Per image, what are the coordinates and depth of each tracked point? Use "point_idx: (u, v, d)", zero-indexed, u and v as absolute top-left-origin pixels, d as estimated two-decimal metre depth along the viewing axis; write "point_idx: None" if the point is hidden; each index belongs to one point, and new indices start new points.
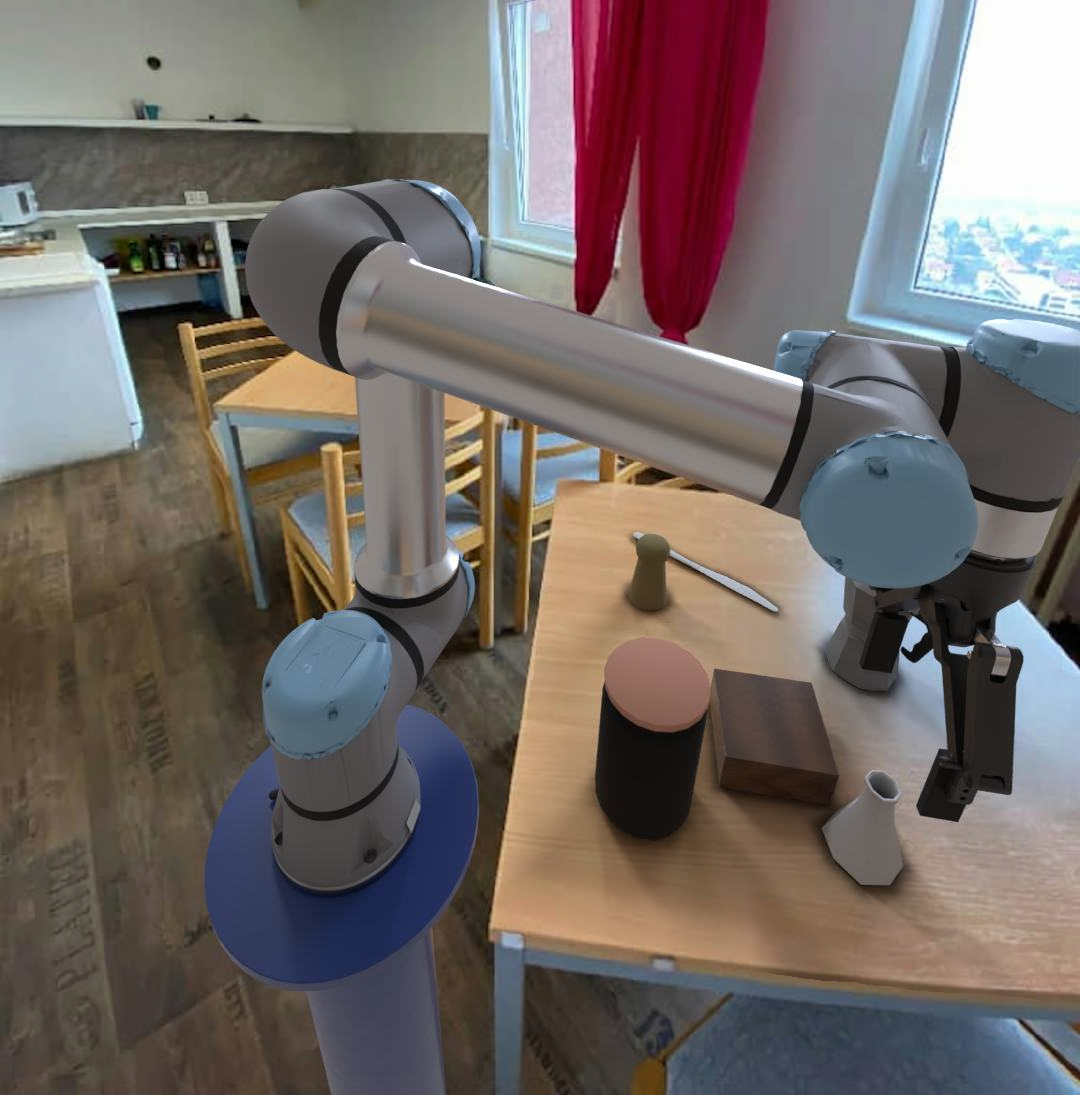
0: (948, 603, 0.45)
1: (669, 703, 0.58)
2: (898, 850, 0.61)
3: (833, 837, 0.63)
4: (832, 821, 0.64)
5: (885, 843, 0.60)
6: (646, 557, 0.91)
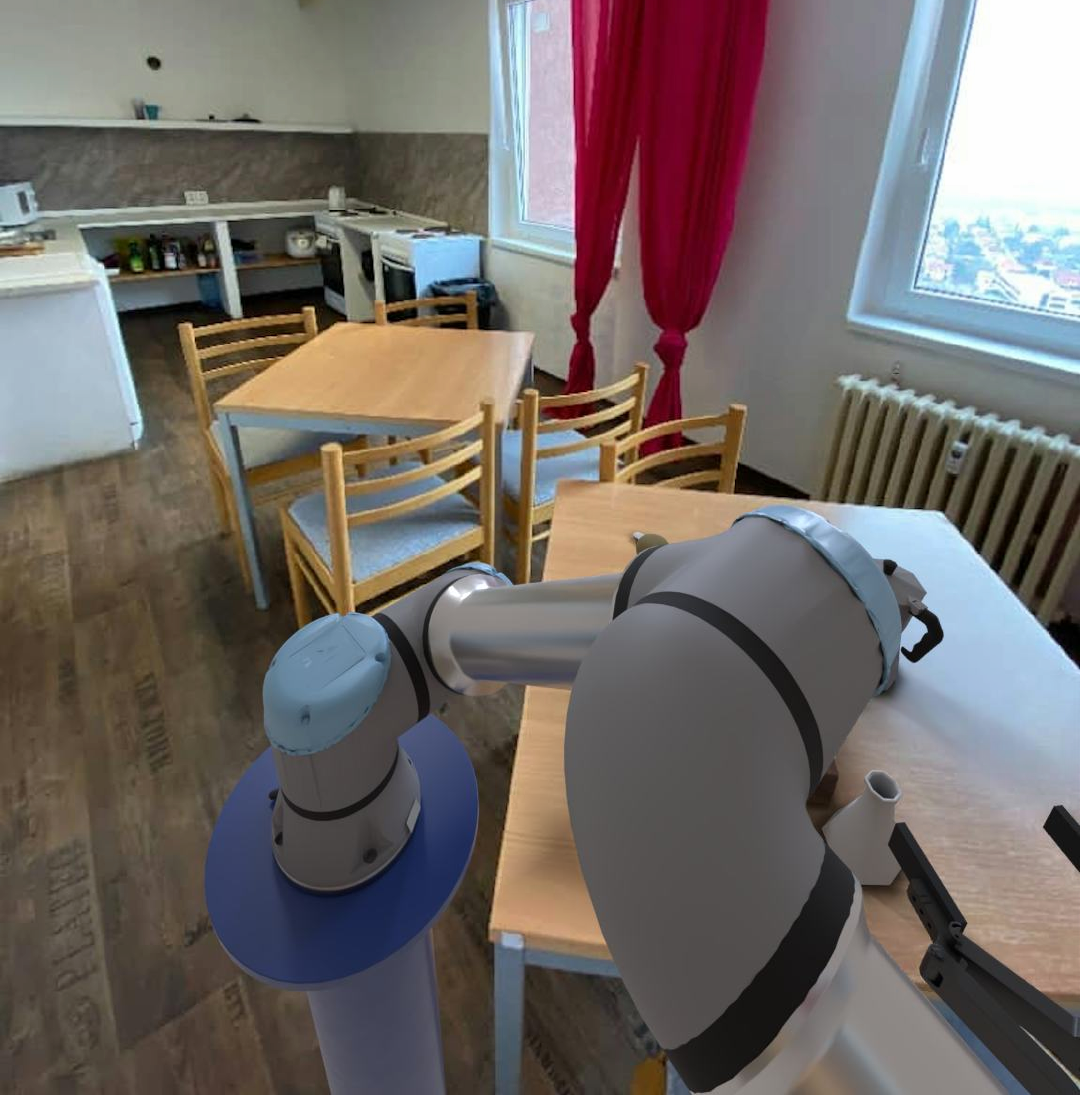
0: None
1: None
2: None
3: (833, 837, 0.63)
4: (832, 821, 0.64)
5: (885, 843, 0.60)
6: None
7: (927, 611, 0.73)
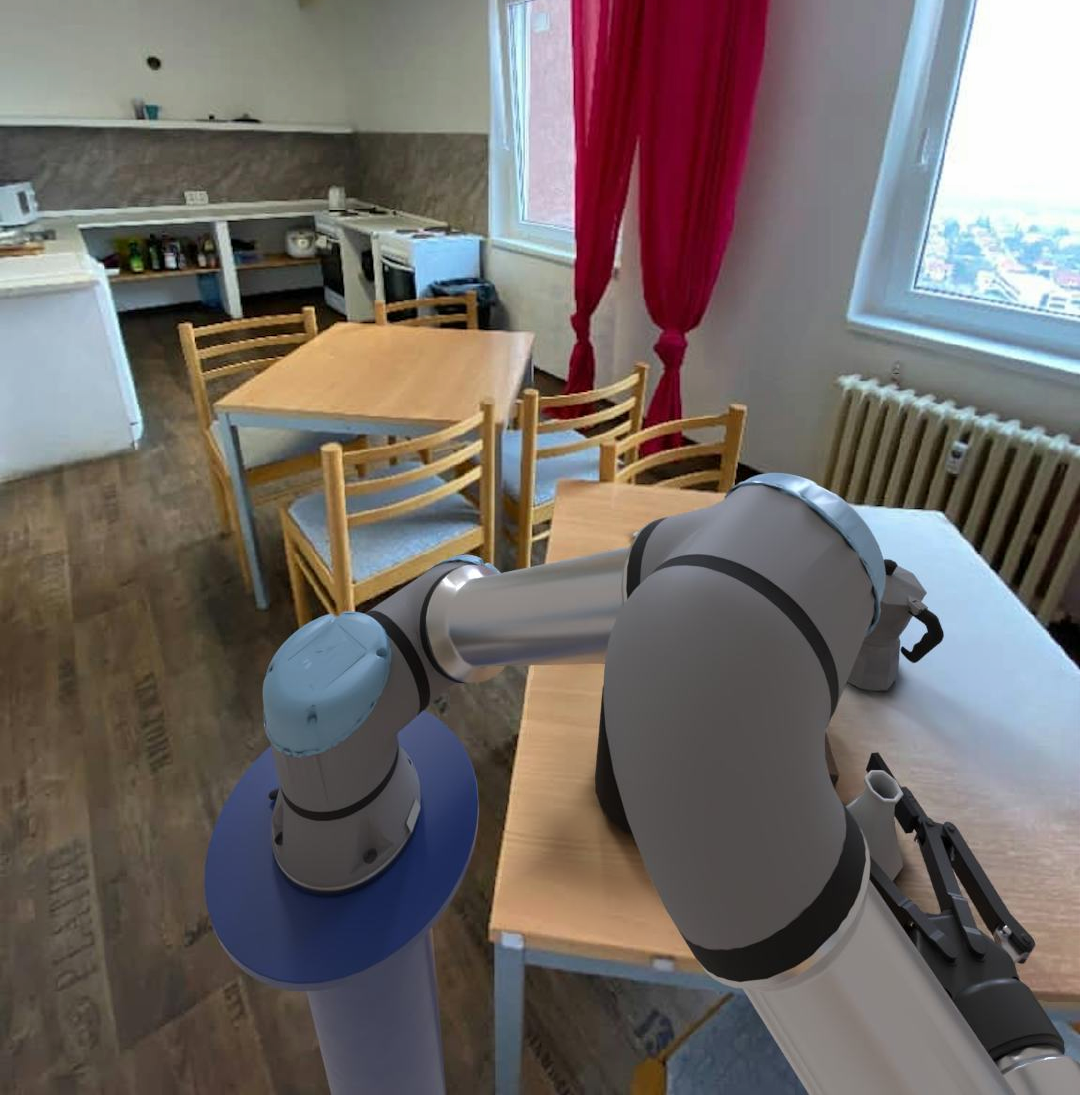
0: (950, 969, 0.49)
1: None
2: (898, 850, 0.61)
3: None
4: None
5: (885, 843, 0.60)
6: None
7: (927, 611, 0.73)
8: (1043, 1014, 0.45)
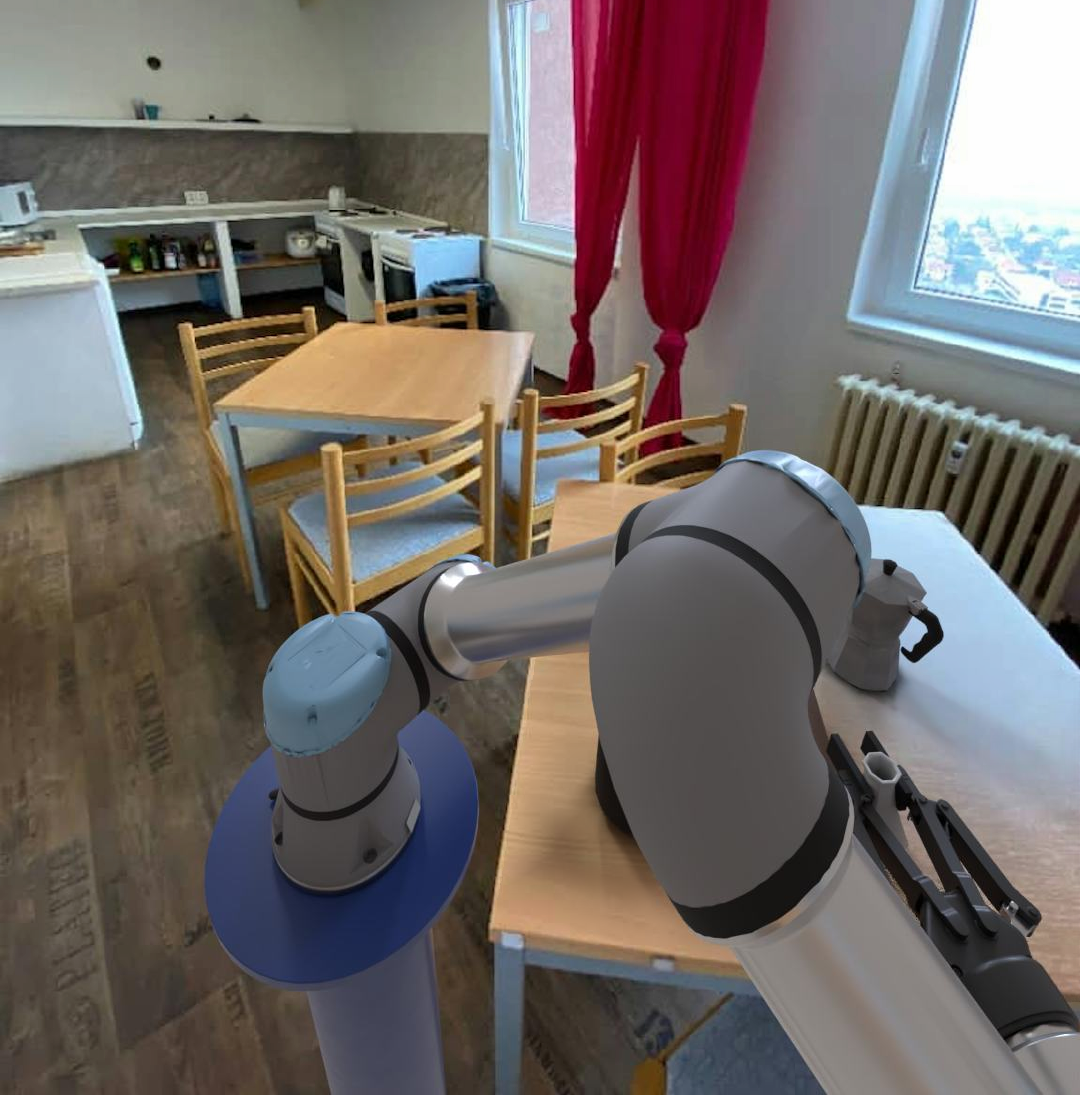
0: (961, 946, 0.48)
1: None
2: (902, 830, 0.61)
3: None
4: None
5: (888, 825, 0.59)
6: None
7: (927, 611, 0.73)
8: (1057, 992, 0.44)
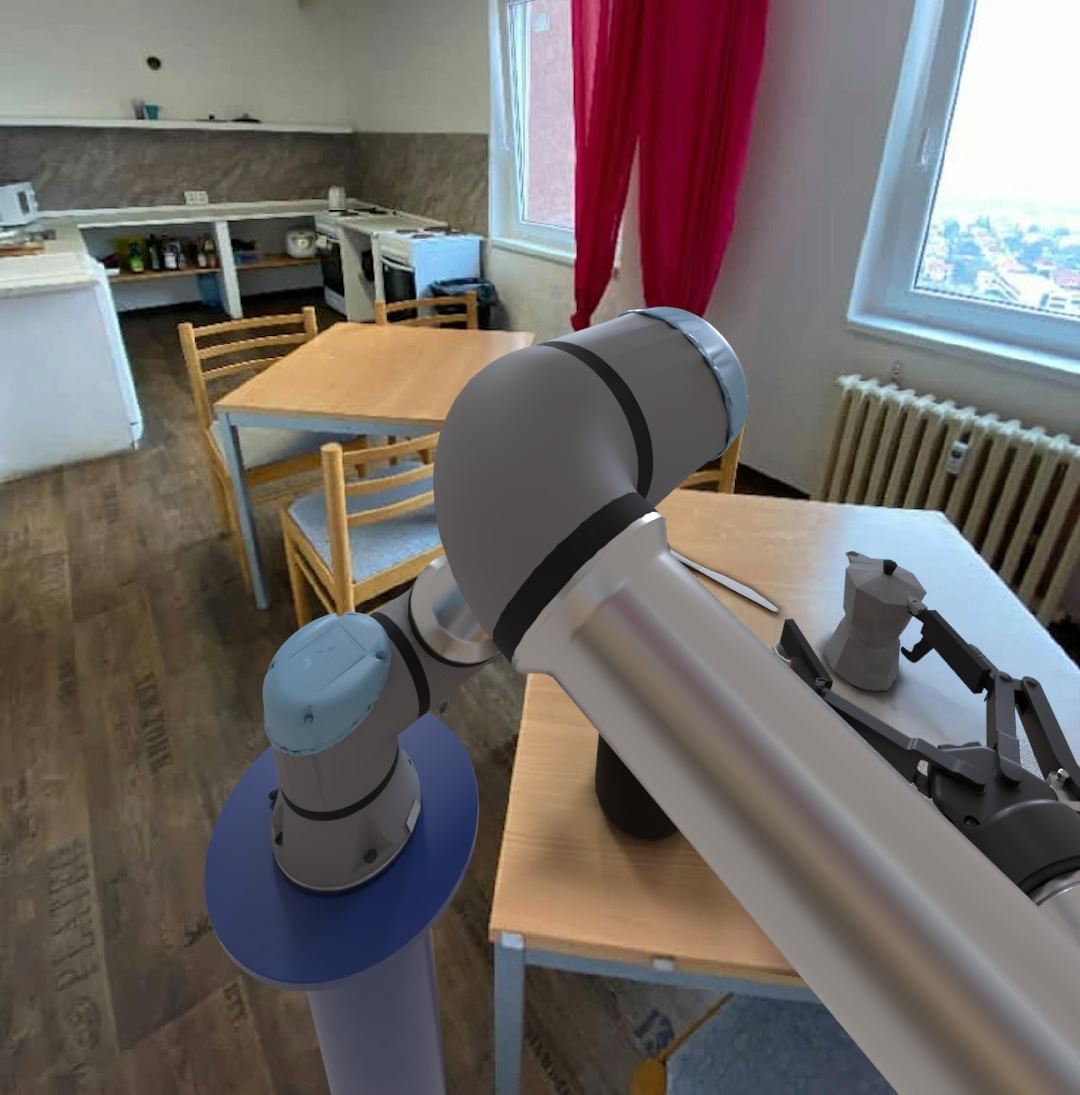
0: (978, 797, 0.40)
1: None
2: None
3: None
4: None
5: None
6: None
7: None
8: None
